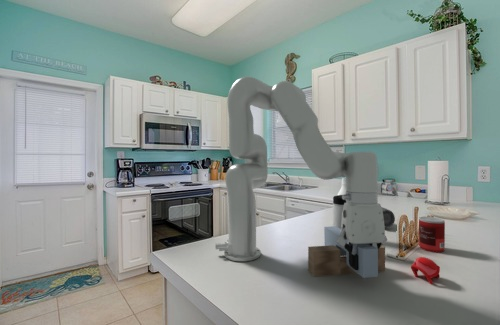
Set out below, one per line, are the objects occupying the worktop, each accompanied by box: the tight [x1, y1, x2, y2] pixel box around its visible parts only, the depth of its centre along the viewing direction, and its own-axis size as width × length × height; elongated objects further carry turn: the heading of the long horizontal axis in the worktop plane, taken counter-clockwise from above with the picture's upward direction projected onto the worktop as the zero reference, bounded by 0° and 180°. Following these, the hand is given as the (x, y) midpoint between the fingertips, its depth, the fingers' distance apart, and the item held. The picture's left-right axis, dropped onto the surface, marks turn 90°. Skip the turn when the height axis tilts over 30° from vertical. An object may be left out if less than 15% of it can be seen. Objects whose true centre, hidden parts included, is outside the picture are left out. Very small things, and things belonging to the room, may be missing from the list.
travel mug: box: [332, 194, 346, 229], centre depth 91 cm, size 6×7×20 cm
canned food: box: [418, 216, 446, 253], centre depth 91 cm, size 8×8×11 cm
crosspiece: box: [323, 225, 379, 279], centre depth 73 cm, size 22×4×7 cm, turn 8°
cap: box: [410, 256, 441, 285], centre depth 68 cm, size 8×6×6 cm
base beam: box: [307, 245, 386, 277], centre depth 73 cm, size 22×4×7 cm, turn 98°
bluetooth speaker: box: [381, 206, 396, 228], centre depth 127 cm, size 23×9×10 cm, turn 6°
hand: (362, 266), depth 66 cm, fingers closed on crosspiece, 4 cm apart
